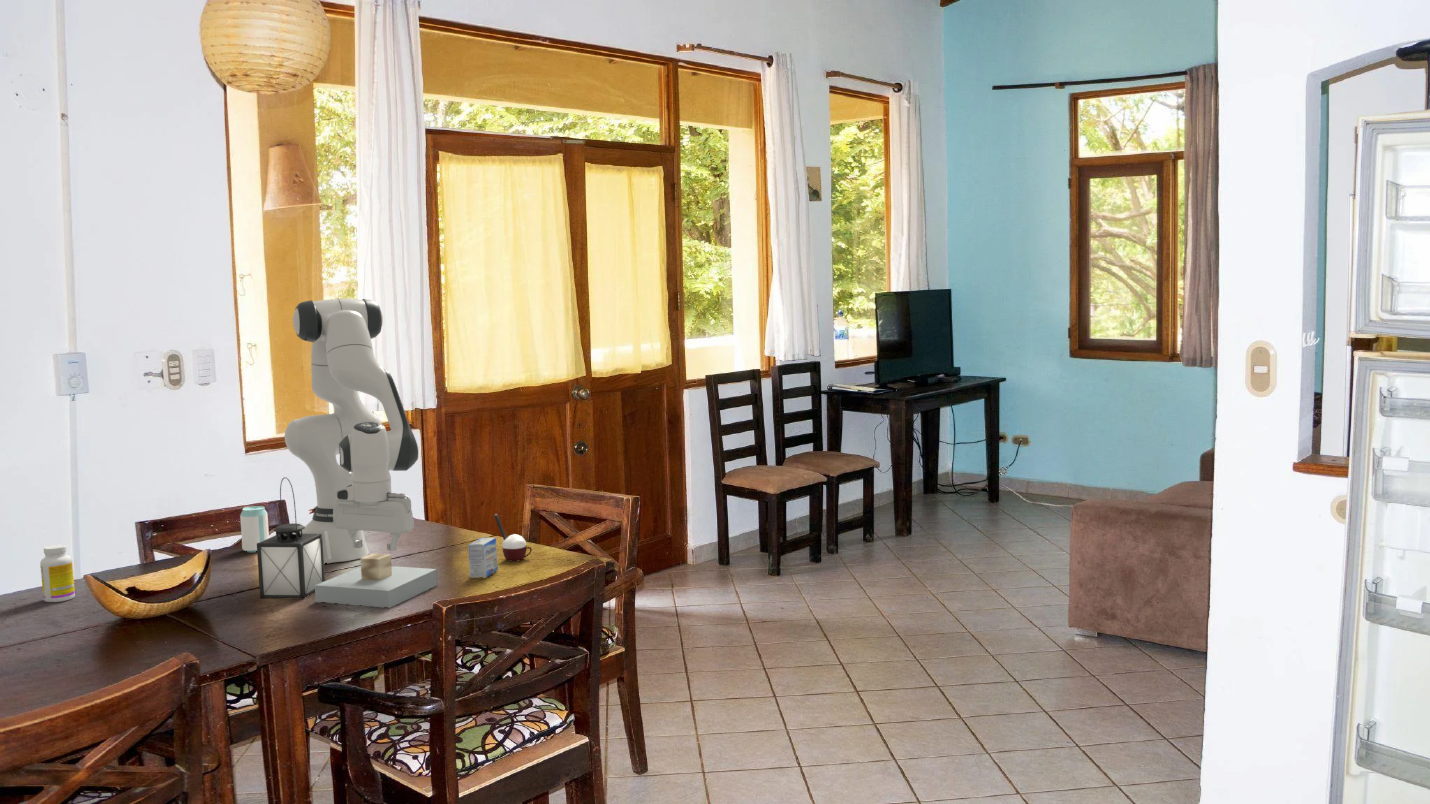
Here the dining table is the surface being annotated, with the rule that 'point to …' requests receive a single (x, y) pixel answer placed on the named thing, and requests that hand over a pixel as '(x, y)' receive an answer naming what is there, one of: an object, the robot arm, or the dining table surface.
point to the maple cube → (376, 566)
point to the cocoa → (513, 545)
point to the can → (253, 527)
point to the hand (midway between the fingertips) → (374, 549)
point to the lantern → (290, 561)
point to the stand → (376, 587)
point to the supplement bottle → (57, 574)
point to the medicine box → (482, 557)
